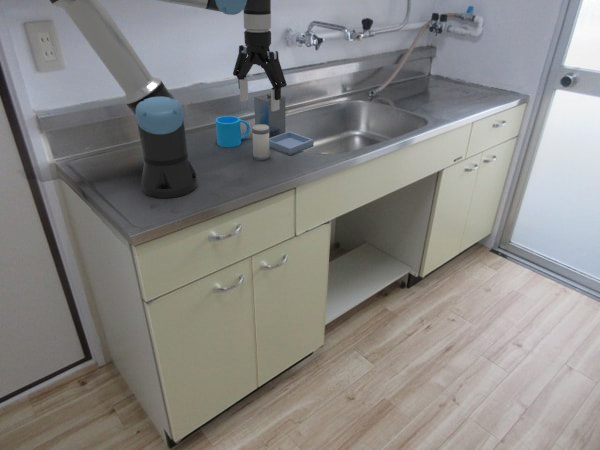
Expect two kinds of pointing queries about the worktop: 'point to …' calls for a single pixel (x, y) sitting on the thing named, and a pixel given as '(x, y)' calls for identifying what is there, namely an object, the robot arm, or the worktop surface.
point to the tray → (290, 143)
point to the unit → (270, 114)
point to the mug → (229, 131)
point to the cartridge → (260, 142)
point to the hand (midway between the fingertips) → (259, 105)
